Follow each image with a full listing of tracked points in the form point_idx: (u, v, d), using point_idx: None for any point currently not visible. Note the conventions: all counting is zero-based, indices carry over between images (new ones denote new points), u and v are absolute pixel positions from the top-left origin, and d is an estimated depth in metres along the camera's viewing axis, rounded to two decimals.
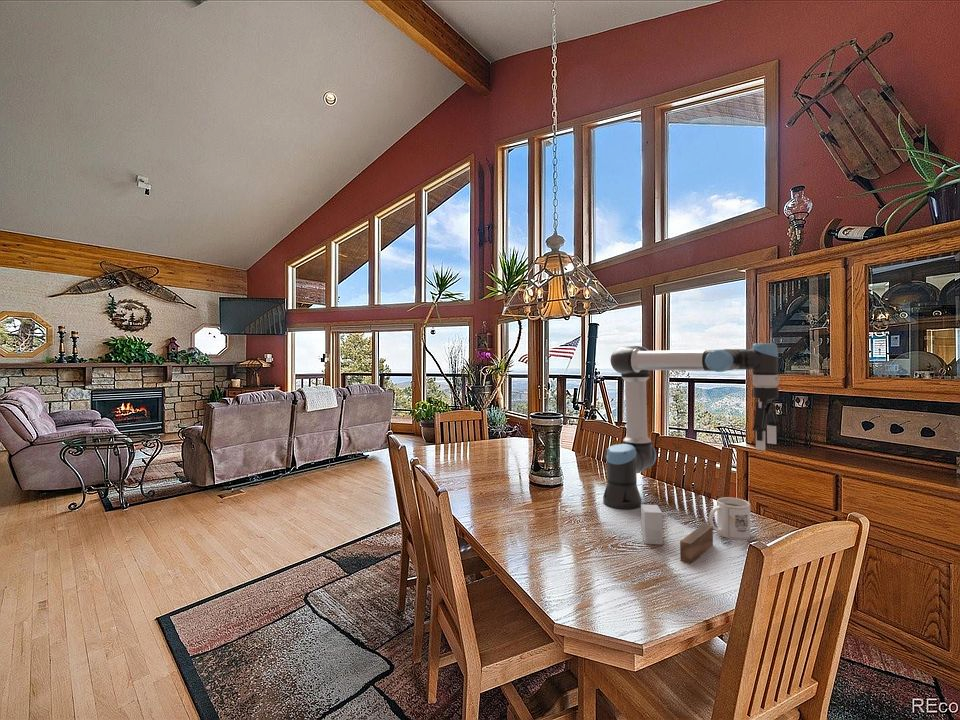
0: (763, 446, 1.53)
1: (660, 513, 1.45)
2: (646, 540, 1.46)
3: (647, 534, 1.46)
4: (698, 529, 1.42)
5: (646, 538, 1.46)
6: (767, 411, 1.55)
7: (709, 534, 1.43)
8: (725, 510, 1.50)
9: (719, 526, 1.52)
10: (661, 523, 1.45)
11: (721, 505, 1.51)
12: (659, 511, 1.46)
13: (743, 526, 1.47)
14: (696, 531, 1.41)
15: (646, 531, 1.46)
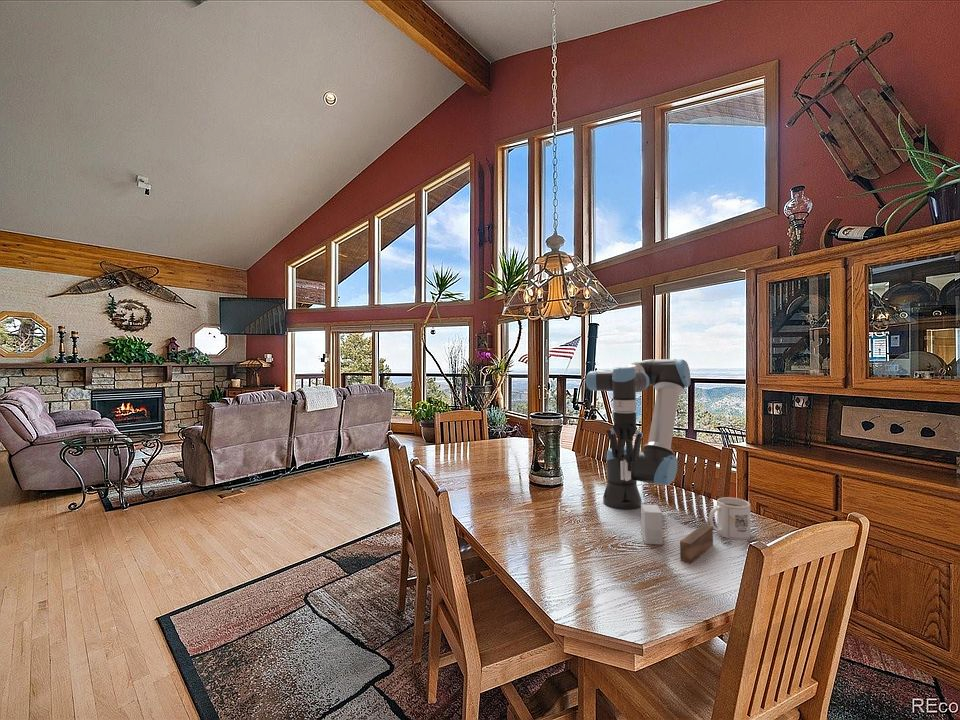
0: None
1: (660, 513, 1.45)
2: (646, 540, 1.46)
3: (647, 534, 1.46)
4: (698, 529, 1.42)
5: (646, 538, 1.46)
6: None
7: (709, 534, 1.43)
8: (725, 510, 1.50)
9: (719, 526, 1.52)
10: (661, 523, 1.45)
11: (721, 505, 1.51)
12: (659, 511, 1.46)
13: (743, 526, 1.47)
14: (696, 531, 1.41)
15: (646, 531, 1.46)
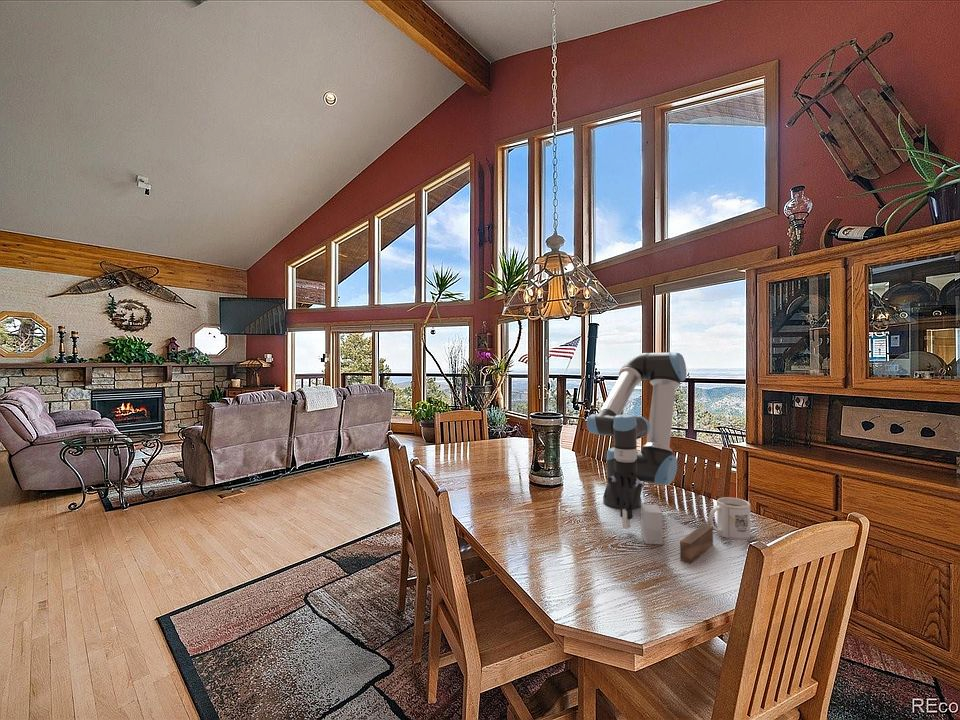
0: None
1: (660, 513, 1.45)
2: (646, 540, 1.46)
3: (647, 534, 1.46)
4: (698, 529, 1.42)
5: (646, 538, 1.46)
6: (619, 486, 1.56)
7: (709, 534, 1.43)
8: (725, 510, 1.50)
9: (719, 526, 1.52)
10: (661, 523, 1.45)
11: (721, 505, 1.51)
12: (659, 511, 1.46)
13: (743, 526, 1.47)
14: (696, 531, 1.41)
15: (646, 531, 1.46)
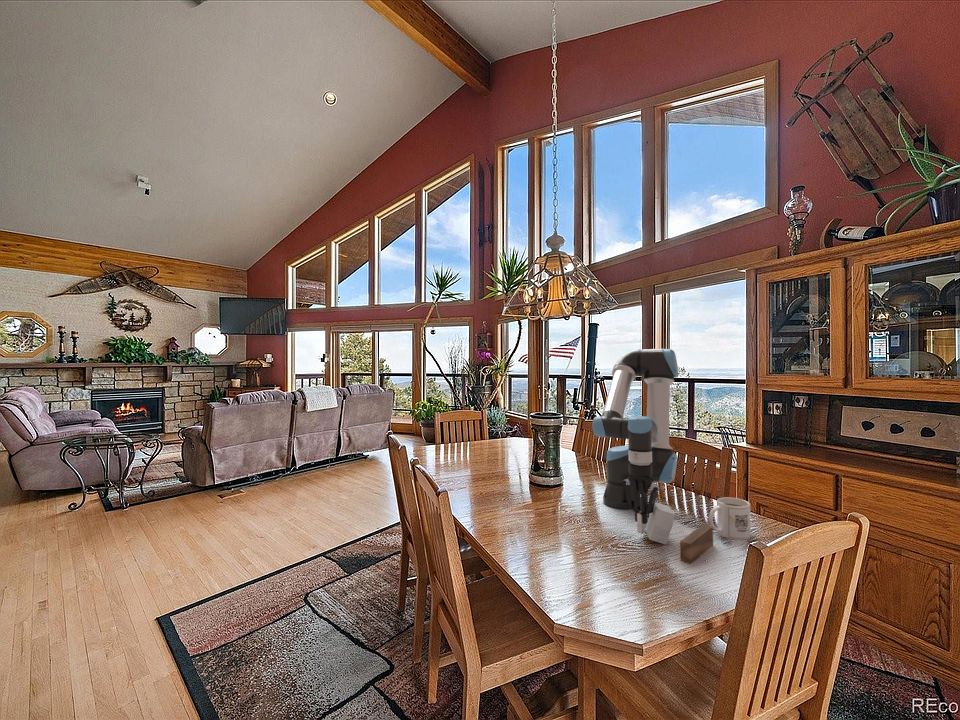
0: None
1: (673, 514, 1.44)
2: (651, 536, 1.46)
3: (654, 531, 1.45)
4: (698, 529, 1.42)
5: (652, 534, 1.46)
6: None
7: (709, 534, 1.43)
8: (725, 510, 1.50)
9: (719, 526, 1.52)
10: (671, 524, 1.44)
11: (721, 505, 1.51)
12: (672, 512, 1.45)
13: (743, 526, 1.47)
14: (696, 531, 1.41)
15: (654, 528, 1.45)
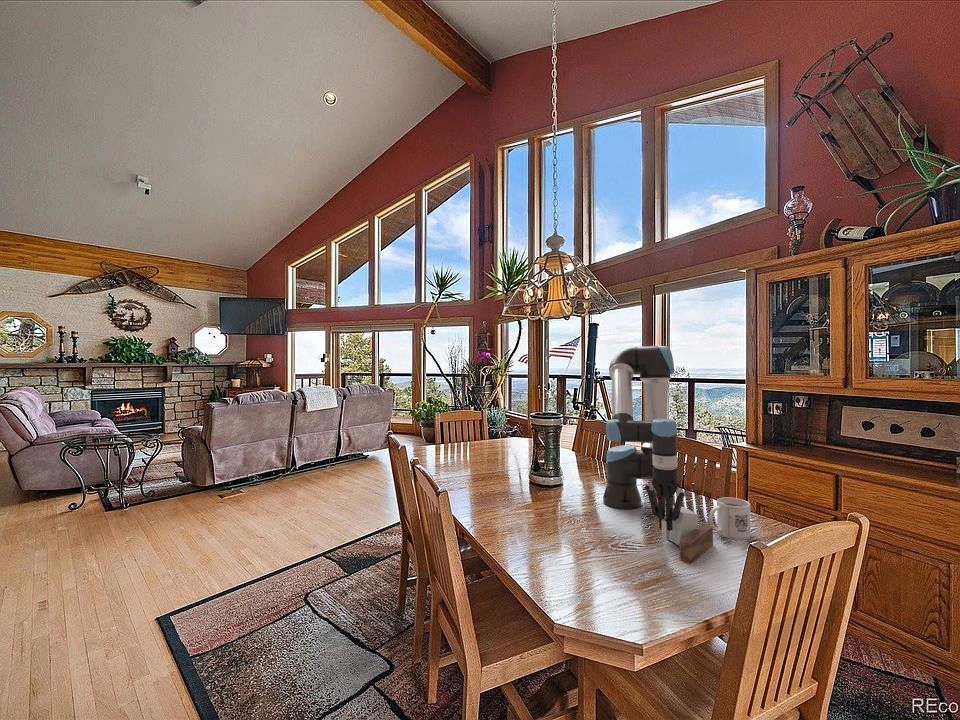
0: None
1: (696, 515, 1.43)
2: None
3: (682, 536, 1.42)
4: (698, 529, 1.42)
5: (680, 540, 1.42)
6: None
7: (709, 534, 1.43)
8: (725, 510, 1.50)
9: (719, 526, 1.52)
10: (696, 525, 1.43)
11: (721, 505, 1.51)
12: (694, 513, 1.44)
13: (743, 526, 1.47)
14: (696, 531, 1.41)
15: (681, 532, 1.42)
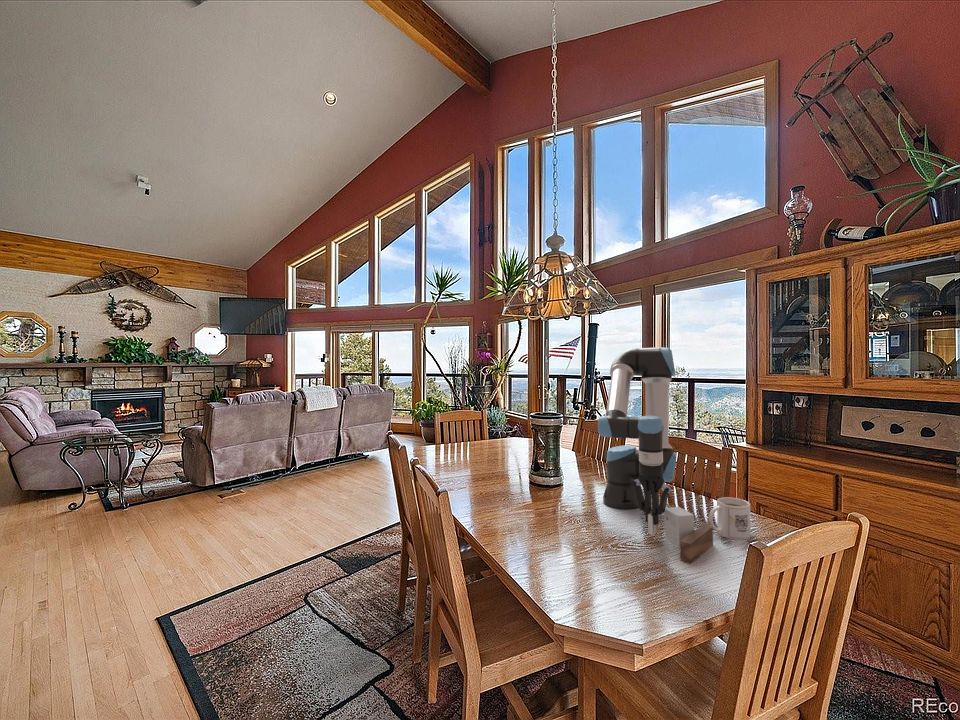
0: None
1: (692, 515, 1.43)
2: None
3: (681, 539, 1.42)
4: (698, 529, 1.42)
5: None
6: (644, 490, 1.50)
7: (709, 534, 1.43)
8: (725, 510, 1.50)
9: (719, 526, 1.52)
10: (693, 525, 1.43)
11: (721, 505, 1.51)
12: (689, 513, 1.44)
13: (743, 526, 1.47)
14: (696, 531, 1.41)
15: (680, 536, 1.42)
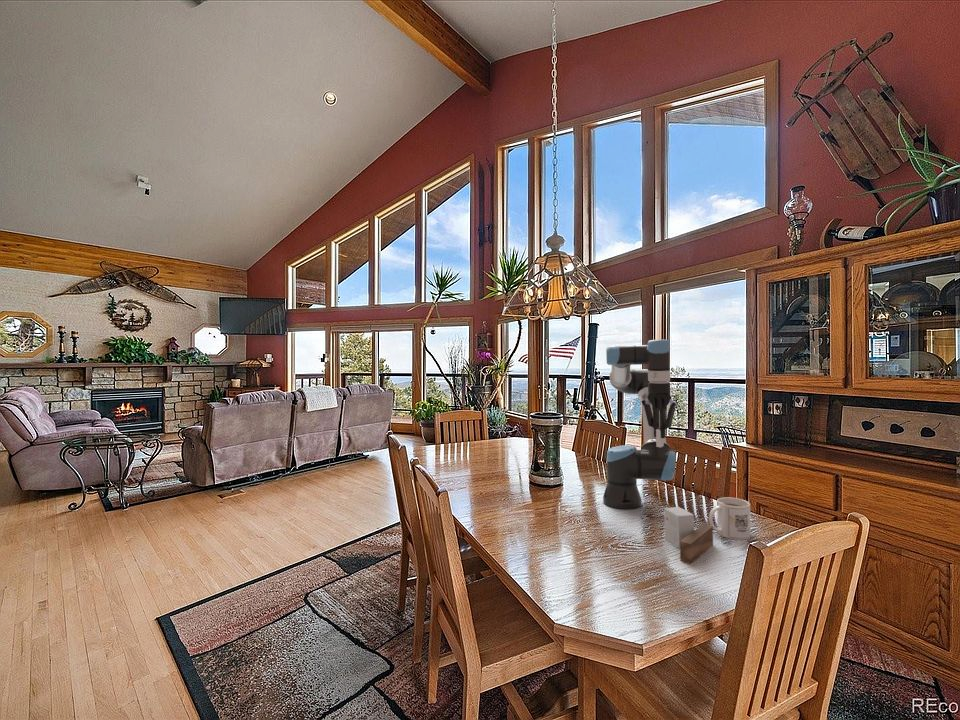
0: None
1: (692, 515, 1.43)
2: None
3: (681, 539, 1.42)
4: (698, 529, 1.42)
5: None
6: None
7: (709, 534, 1.43)
8: (725, 510, 1.50)
9: (719, 526, 1.52)
10: (693, 525, 1.43)
11: (721, 505, 1.51)
12: (689, 513, 1.44)
13: (743, 526, 1.47)
14: (696, 531, 1.41)
15: (680, 536, 1.42)
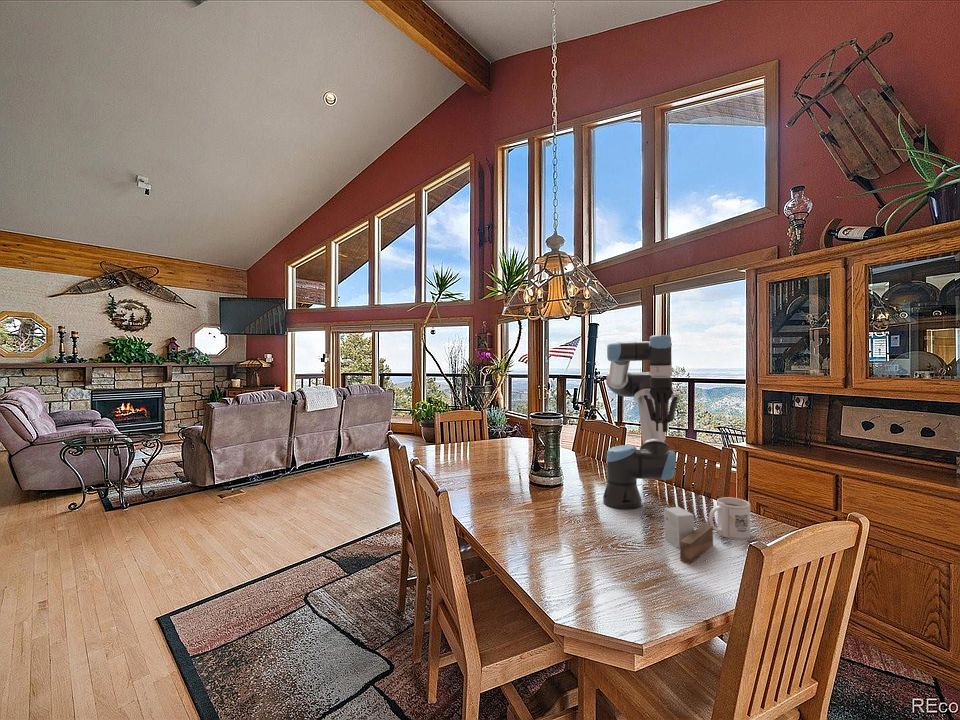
0: None
1: (692, 515, 1.43)
2: None
3: (681, 539, 1.42)
4: (698, 529, 1.42)
5: None
6: None
7: (709, 534, 1.43)
8: (725, 510, 1.50)
9: (719, 526, 1.52)
10: (693, 525, 1.43)
11: (721, 505, 1.51)
12: (689, 513, 1.44)
13: (743, 526, 1.47)
14: (696, 531, 1.41)
15: (680, 536, 1.42)
